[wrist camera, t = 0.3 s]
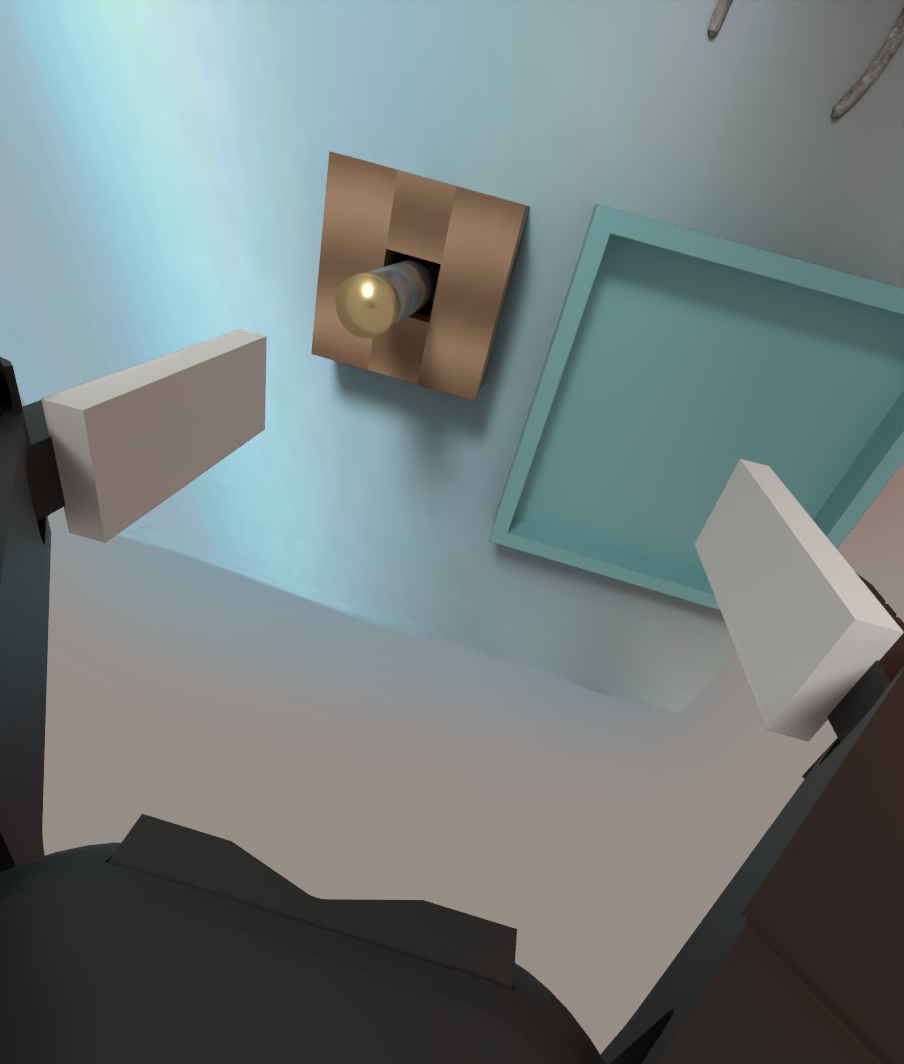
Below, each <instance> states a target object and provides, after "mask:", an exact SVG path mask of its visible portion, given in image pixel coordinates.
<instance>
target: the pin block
mask: <svg viewBox="0 0 904 1064" xmlns="http://www.w3.org/2000/svg"><path fill="white" fill-rule="evenodd" d="M529 207H530V206H526V205H523V204H519V203H515V202H512V201H508V200H505V199H501V198H497V197H494V196H490V195H486V194H483V193H479V192H476V191H472V190H468V189H465V188H461V187H458V186H454V185H450V184H447V183H443V182H439V181H436V180H432V179H429V178H425V177H421V176H418V175H414V174H411V173H407V172H403V171H400V170H396V169H392V168H389V167H385V166H382V165H378V164H374V163H371V162H367V161H364V160H360V159H356V158H353V157H349V156H345V155H341V154H337V153H334V152H329V163H328V175H327V186H326V197H325V208H324V219H323V231H322V242H321V253H320V264H319V276H318V287H317V298H316V309H315V320H314V332H313V343H312V354H314V355H318V356H321V357H325V358H328V359H331V360H335V361H338V362H342V363H345V364H349V365H352V366H356V367H359V368H362V369H366V370H369V371H373V372H376V373H380V374H383V375H387V376H390V377H393V378H397V379H400V380H404V381H407V382H411V383H414V384H418V385H421V386H425V387H428V388H431V389H435V390H438V391H442V392H445V393H449V394H452V395H456V396H459V397H462V398H466V399H469V400H473V401H475V399H476V397H477V395H478V393H479V391H480V389H481V387H482V384H483V380H484V376H485V373H486V369H487V365H488V361H489V358H490V354H491V350H492V346H493V342H494V339H495V335H496V331H497V327H498V324H499V320H500V316H501V312H502V309H503V305H504V301H505V297H506V294H507V290H508V286H509V282H510V279H511V275H512V271H513V267H514V263H515V260H516V256H517V252H518V248H519V245H520V241H521V237H522V233H523V230H524V226H525V222H526V218H527V215H528V211H529ZM401 253H403V254H406V255H410V256H414V257H417V258H421V259H424V260H428V261H431V262H435V263H438V264H441V267H440V272H439V277H438V282H437V287H436V292H435V297H434V302H433V307H432V311H430V310H427V309H423V308H421V309H419V310H418V311H416V312H415V313H413V314H412V315H410V316H409V317H407V318H405V319H404V320H402V321H401V322H399V323H398V324H396V325H395V326H393V327H392V328H390V329H389V330H387V331H386V332H384V333H383V334H381V335H379V336H377V337H375V338H370V339H365V338H360V337H357V336H355V335H353V334H351V333H350V332H349V331H348V330H346V328H345V327H344V326H343V325H342V323H341V322H340V320H339V318H338V315H337V312H336V305H335V302H336V295H337V292H338V289H339V287H340V286H341V284H342V283H343V282H344V281H345V280H346V279H348V278H350V277H352V276H355V275H358V274H361V273H365V272H368V271H372V270H375V269H378V268H382V267H385V266H389V265H392V264H395V263H399V262H400V258H401Z"/></svg>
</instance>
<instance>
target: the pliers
mask: <svg viewBox="0 0 904 1064" xmlns="http://www.w3.org/2000/svg"><path fill="white" fill-rule="evenodd" d="M731 1H732V0H719V1H718V3H717V6H716V8H715V11H714V13H713V15H712V19H711V22H710V25H709V28H708V34H709V36H711V37H712V36H713V35H715V34H716V33H717V32H718V30H719V28H720V26H721V24H722V22H723V19H724V17H725V15H726V13H727V10H728V8H729V6H730V3H731ZM903 39H904V8H903V11H902V13H901V15H900V17H899V19H898V21H897V23H896V24H895V26H894V28H893V30H892V32H891V34H890V35H889V37H888V39H887V40H886V42H885V44H884V45H883V47H882V48H881V50H880V51H879V53H878V55H877V56H876V58H875V59H874V61H873V62H872V64H871V65H870V66H869V67H868V69H867V70H866V71H865V73H864V74H863V75H862V77H861V78H860V79H859V80H858V82H857V83H856V84H855V85H854V86H853V87H852V88H851V89H850V91H849V92H848V93H847V94H846V95H845V96H844V97H843V98H842V99H841V101H840V102H839V103H838V104H837V105H836V106H835V107H834V109H833V110H832V114H831V117H832V118H836V117H840V116H841V115H842V114H843V113H844V112H845V111H846V110H847V109H849V108H850V107H851V106H852V105H853V104H854V103H855V101H856V100H857V99H858V98H859V97H860V96H861V95H862V94H863V93H864V92H865V91H866V90H867V89H868V87H869V86H870V85H871V84H872V82H873V81H874V80H875V79H876V77H877V76H878V75H879V74H880V72H881V71H882V70H883V69H884V67H885V66H886V64H887V63H888V62H889V60H890V59H891V57H892V56H893V54H894V53H895V51H896V50H897V48H898V47H899V45H900V44H901V43H902V41H903Z"/></svg>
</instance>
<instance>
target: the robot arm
mask: <svg viewBox="0 0 904 1064" xmlns="http://www.w3.org/2000/svg"><path fill="white" fill-rule="evenodd" d="M265 387H266V336H264V335H260V334H256V333H252V332H248V331H245V330H241V329H239V330H237V331H234V332H231V333H228V334H225V335H222V336H220V337H217V338H214V339H211V340H208V341H205V342H202V343H200V344H197V345H194V346H191V347H188V348H185V349H182V350H180V351H177V352H174V353H171V354H168V355H165V356H162V357H160V358H157V359H154V360H151V361H148V362H145V363H142V364H140V365H137V366H134V367H131V368H128V369H125V370H122V371H120V372H117V373H114V374H111V375H108V376H105V377H102V378H100V379H97V380H94V381H91V382H88V383H85V384H82V385H80V386H77V387H74V388H71V389H68V390H65V391H63V392H60V393H57V394H54V395H51V396H48V397H45V398H43V399H41V400H40V401H37V402H34V403H32V404H29V405H26V406H23V407H22V405H21V400H20V396H19V391H18V387H17V383H16V378H15V374H14V370H13V366H12V364H11V362H10V361H8V360H6V359H4V358H2V357H0V1064H904V623H903V622H902V620H901V619H900V618H898V617H896V613H895V612H894V611H893V610H892V608H891V607H890V606H889V605H888V604H885V600H884V599H883V597H882V596H881V595H880V594H879V593H878V591H877V590H876V589H875V588H874V587H873V586H872V585H871V584H870V583H869V582H868V581H866V580H865V579H863V578H862V577H861V576H860V575H858V574H857V573H856V572H855V571H854V570H853V569H852V568H851V567H850V565H849V564H848V563H847V562H846V560H845V559H844V558H843V557H842V555H841V554H840V553H839V552H838V550H837V549H836V548H835V547H834V545H833V544H832V543H831V542H830V541H829V539H828V538H827V537H826V536H825V534H824V533H823V532H822V531H821V529H820V528H819V527H818V526H817V524H816V523H815V522H814V521H813V520H812V518H811V517H810V516H809V515H808V513H807V512H806V511H805V510H804V508H803V507H802V506H801V505H800V504H799V502H798V501H797V500H796V499H795V497H794V496H793V495H792V494H791V492H790V491H789V490H788V489H787V488H786V486H785V485H784V484H783V483H782V481H781V480H780V479H779V478H778V476H777V475H776V474H775V473H774V472H773V470H772V469H771V468H770V467H769V466H766V465H763V464H759V463H755V462H751V461H747V460H743V459H740V460H739V462H738V464H737V466H736V468H735V470H734V471H733V473H732V475H731V477H730V479H729V481H728V483H727V485H726V486H725V488H724V490H723V492H722V494H721V496H720V498H719V500H718V501H717V503H716V505H715V507H714V509H713V511H712V513H711V515H710V516H709V518H708V520H707V522H706V524H705V526H704V528H703V530H702V531H701V533H700V535H699V537H698V539H697V541H696V543H695V547H696V549H697V552H698V554H699V557H700V560H701V562H702V565H703V567H704V570H705V572H706V575H707V577H708V580H709V582H710V585H711V588H712V590H713V593H714V595H715V598H716V600H717V603H718V605H719V608H720V611H721V613H722V616H723V618H724V621H725V623H726V626H727V628H728V631H729V634H730V636H731V639H732V641H733V644H734V646H735V649H736V651H737V654H738V656H739V659H740V662H741V664H742V667H743V669H744V672H745V674H746V677H747V679H748V682H749V684H750V687H751V690H752V692H753V694H754V697H755V700H756V702H757V705H758V708H759V710H760V713H761V715H762V718H763V720H764V723H765V725H766V728H767V730H770V731H773V732H777V733H781V734H784V735H787V736H791V737H794V738H798V739H802V740H805V741H809V740H810V739H811V738H812V737H813V736H814V734H815V733H816V732H817V731H818V730H819V729H820V728H821V726H822V725H823V724H824V723H825V722H826V721H827V720H829V721H830V723H831V725H832V727H833V729H834V731H835V733H836V735H837V737H838V738H837V739H836V740H835V741H834V742H833V743H832V744H831V745H830V746H829V748H828V749H827V750H826V751H825V752H824V753H823V754H822V755H821V756H820V758H818V760H817V761H816V762H815V763H814V764H813V765H812V766H811V767H810V768H809V769H808V770H807V772H806V773H805V774H804V775H803V776H802V777H803V778H805V780H804V781H803V782H802V784H801V785H800V787H799V788H798V789H797V791H796V792H795V793H794V795H793V796H792V798H791V799H790V800H789V802H788V803H787V804H786V806H785V807H784V809H783V810H782V811H781V813H780V814H779V815H778V817H777V818H776V820H775V821H774V822H773V824H772V825H771V827H770V828H769V829H768V831H767V832H766V833H765V835H764V836H763V837H762V839H761V840H760V842H759V843H758V844H757V846H756V847H755V848H754V850H753V851H752V853H751V854H750V855H749V857H748V858H747V859H746V861H745V862H744V864H743V865H742V866H741V868H740V869H739V871H738V872H737V873H736V875H735V876H734V878H733V879H732V880H731V882H730V883H729V884H728V886H727V887H726V888H725V890H724V891H723V893H722V894H721V895H720V897H719V898H718V900H717V901H716V902H715V904H714V905H713V907H712V908H711V909H710V910H709V912H708V913H707V915H706V916H705V917H704V919H703V920H702V922H701V923H700V924H699V926H698V927H697V928H696V930H695V931H694V932H693V934H692V935H691V937H690V938H689V939H688V941H687V942H686V943H685V945H684V946H683V948H682V949H681V950H680V952H679V953H678V954H677V956H676V957H675V959H674V960H673V961H672V963H671V964H670V966H669V967H668V968H667V970H666V971H665V972H664V974H663V975H662V977H661V978H660V979H659V981H658V982H657V983H656V985H655V986H654V988H653V989H652V990H651V992H650V993H649V994H648V996H647V997H646V999H645V1000H644V1001H643V1003H642V1004H641V1006H640V1007H639V1008H638V1010H637V1011H636V1012H635V1014H634V1015H633V1016H632V1018H631V1019H630V1020H629V1021H628V1023H627V1024H626V1025H625V1026H624V1028H623V1029H622V1030H621V1031H620V1032H619V1034H618V1035H617V1036H616V1037H615V1038H614V1039H613V1041H612V1042H611V1043H610V1044H609V1045H608V1046H607V1048H606V1049H605V1050H604V1051H603V1052H602V1054H601V1055H600V1054H599V1052H598V1050H597V1049H596V1047H595V1046H594V1044H593V1043H592V1041H591V1039H590V1038H589V1037H588V1035H587V1034H586V1033H585V1032H584V1030H583V1029H582V1027H581V1026H580V1025H579V1023H578V1022H577V1021H576V1020H575V1018H574V1017H573V1015H572V1014H571V1013H570V1012H569V1011H568V1010H567V1008H566V1007H565V1006H564V1005H563V1004H562V1003H561V1002H560V1001H559V1000H558V999H557V998H556V997H555V996H554V995H553V994H552V992H551V991H550V990H549V989H547V988H546V987H545V986H544V985H543V984H542V983H541V982H539V981H538V980H537V979H536V978H535V977H534V976H532V975H531V974H530V973H529V972H528V971H526V970H525V969H523V968H522V967H520V966H519V965H517V964H516V963H515V950H516V934H517V929H515V928H511V927H508V926H505V925H502V924H498V923H495V922H492V921H488V920H485V919H482V918H479V917H476V916H472V915H469V914H466V913H463V912H459V911H456V910H453V909H449V908H446V907H443V906H440V905H436V904H433V903H430V902H427V901H424V900H327V899H319V898H315V897H313V896H311V895H309V894H307V893H306V892H304V891H303V890H301V889H300V888H298V887H297V886H295V885H294V884H292V883H291V882H290V881H288V880H287V879H285V878H284V877H282V876H281V875H279V874H278V873H276V872H275V871H274V870H272V869H271V868H269V867H268V866H266V865H265V864H263V863H262V862H261V861H259V860H258V859H256V858H255V857H253V856H252V855H251V854H249V853H248V852H246V851H245V850H243V849H242V848H240V847H239V846H237V845H236V844H235V843H233V842H231V841H229V840H225V839H222V838H219V837H216V836H212V835H209V834H206V833H203V832H199V831H196V830H193V829H190V828H186V827H183V826H180V825H177V824H173V823H170V822H166V821H163V820H160V819H157V818H154V817H151V816H147V815H144V814H142V815H141V817H140V818H139V819H138V820H137V822H136V823H135V825H134V826H133V828H132V829H131V830H130V832H129V833H128V835H127V836H126V837H125V839H124V840H123V842H122V843H108V844H97V845H88V846H83V847H78V848H74V849H69V850H65V851H60V852H55V853H53V854H49V855H46V856H45V855H44V849H43V837H42V816H43V815H42V814H43V783H44V749H45V716H46V683H47V651H48V650H47V649H48V616H49V615H48V614H49V582H50V551H51V530H50V526H49V521H48V517H47V516H48V515H50V514H51V513H53V512H55V511H57V510H58V509H60V508H62V507H63V506H64V510H65V515H66V520H67V524H68V529H69V533H73V534H76V535H80V536H84V537H87V538H90V539H94V540H97V541H101V542H105V543H106V542H107V541H108V540H110V539H111V538H112V537H114V536H116V535H117V534H118V533H120V532H121V531H123V530H124V529H125V528H127V527H128V526H130V525H131V524H132V523H134V522H135V521H137V520H138V519H139V518H141V517H142V516H144V515H145V514H146V513H148V512H149V511H151V510H152V509H154V508H155V507H156V506H158V505H159V504H161V503H162V502H163V501H165V500H166V499H168V498H169V497H170V496H172V495H173V494H175V493H176V492H177V491H179V490H180V489H182V488H183V487H184V486H186V485H187V484H189V483H190V482H191V481H193V480H194V479H196V478H197V477H198V476H200V475H201V474H203V473H204V472H206V471H207V470H208V469H210V468H211V467H213V466H214V465H215V464H217V463H218V462H220V461H221V460H222V459H224V458H225V457H227V456H228V455H229V454H231V453H232V452H234V451H235V450H236V449H238V448H239V447H241V446H242V445H243V444H245V443H246V442H248V441H249V440H250V439H252V438H253V437H255V436H256V435H258V434H259V433H260V432H262V431H263V430H265Z"/></svg>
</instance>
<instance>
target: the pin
mask: <svg viewBox="0 0 904 1064" xmlns="http://www.w3.org/2000/svg"><path fill="white" fill-rule="evenodd" d="M439 272H440V268H439V266H438V265H437V264H436V263H435V262H431V261H428V260H424V259H421V258H417V257H416V258H412V259H409V260H406V261H402V262H399V263H395V264H392V265H389V266H385V267H382V268H378V269H375V270H372V271H368V272H365V273H361V274H358V275H355V276H352V277H350V278H348V279H346V280H345V281H344V282H343V283H342V284H341V286H340V287H339V289H338V292H337V295H336V302H335V305H336V312H337V315H338V318H339V320H340V322H341V323H342V325H343V326H344V327H345V328H346V330H348V331H349V332H350V333H351V334H353V335H355V336H357V337H360V338H365V339H370V338H375V337H377V336H379V335H381V334H383V333H384V332H386V331H387V330H389V329H390V328H392V327H393V326H395V325H396V324H398V323H399V322H401V321H402V320H404V319H405V318H407V317H409V316H410V315H412V314H413V313H415V312H416V311H418V310H419V309H421V308H422V307H424V306H425V305H427V304H428V303H430V302H431V301H433V300H434V297H435V292H436V287H437V282H438V277H439Z"/></svg>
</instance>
